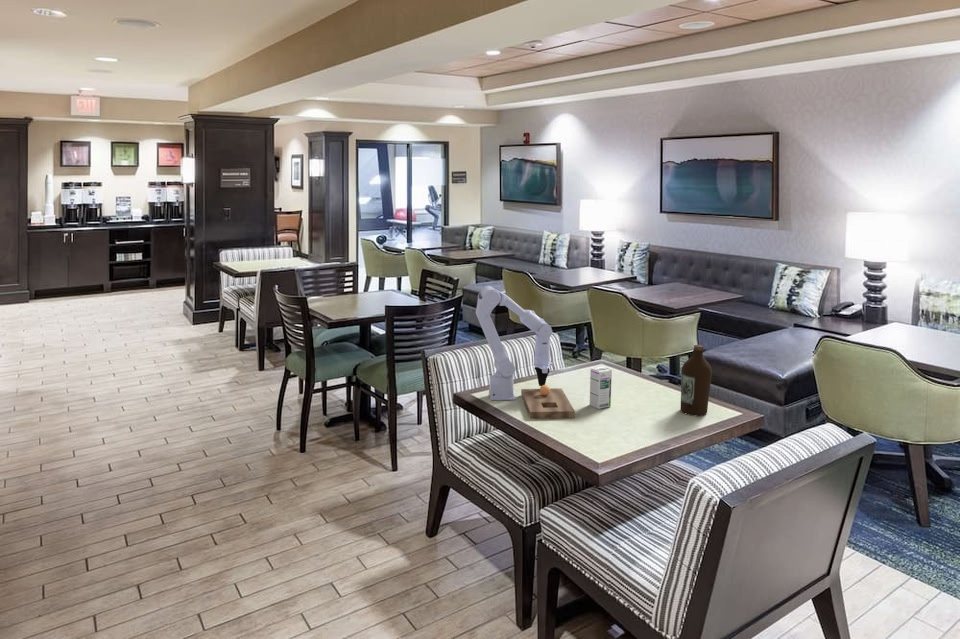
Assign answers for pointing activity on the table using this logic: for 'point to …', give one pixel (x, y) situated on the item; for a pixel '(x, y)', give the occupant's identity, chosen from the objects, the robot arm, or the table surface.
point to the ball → (544, 390)
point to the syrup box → (600, 387)
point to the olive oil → (695, 383)
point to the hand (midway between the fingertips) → (541, 385)
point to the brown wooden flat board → (547, 404)
